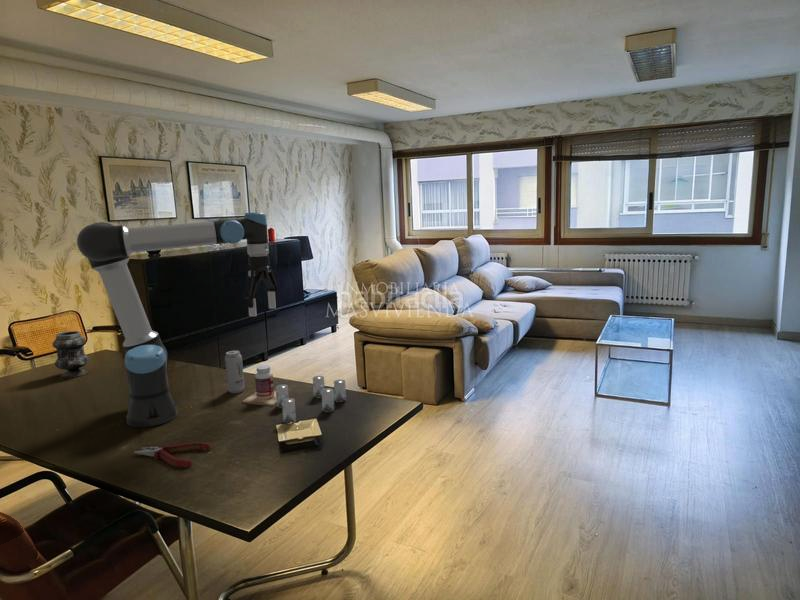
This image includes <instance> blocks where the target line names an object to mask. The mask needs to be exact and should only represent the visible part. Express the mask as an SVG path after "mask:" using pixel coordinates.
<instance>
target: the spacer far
mask: <svg viewBox="0 0 800 600" xmlns="http://www.w3.org/2000/svg"><path fill="white" fill-rule="evenodd" d="M312 389H313V391H312V392H313V398H314V397H322V394H321V390H323V389H326V388H325V376H323V375H314V376H313V377H312Z"/></svg>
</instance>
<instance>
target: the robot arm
mask: <svg viewBox="0 0 800 600" xmlns="http://www.w3.org/2000/svg"><path fill="white" fill-rule="evenodd" d="M243 240H246V247H247V248H246V249H247V252H246V253H247V255H248V258H247V260H248V261H247V262H248V266H249V267H250V268H251V270H246V277H245V284H244V289H243V295H242V297H243V298H244V299H245V300H246V299H247V307H248V316H249V317H258V314H257V301H256V298H255V296H256V292H257V290H258V286H259V284H260V283H261V282H263V284H264V285H265V286H266V287H265V288H266V289H267V290H268V291H267V299H268V309H271V310H273V309H277V305H276V304H277V302H276V292H278V291H279V289H278V288H279V286H278V285H279V284H278V283H277V280H276V277H275V273H274V269H273V266H272V265H271V266H270V264H271V262H270V255H269V254H270V250H269V248H270V246H269V236H268V224H267V215H266V213H264V212H260V211H259V212H257V211H256V212H245V213H244V217H242V218H222V219H221V218H219V219H211V220H210V221H202V222H189V223H177V224H175V223H174V224H164V225H152V226H139V227H128V226H125V225H124V224H123V225H122V224H121V225H114V224H111V223H110V222H104V221H103V222H101V221H100V222H95V223H91V224H89V225H86V226H84V227H83V228H82V229H81V230H80V232H79V233H78V235H77V238H76V245H77V248H78V250H79V252H80V254H82V255H83V256H84V257H85V258H86V259H87V260H88V263H89V264H90V267H91V269H92V270H94V271H96V272H98V273H99V276H100V279H101V281H102V284H103V286H104V289H105V291H106V294H107V295H108V299H109V301H110V303H111V307H112V308H113V311H114V314H115V317H116V318H117V321H118V325H119V326H120V328H121V331H122V334H123V336H124V341H123V343H122V347H123V349H124V351H125V356H124V366H125V370H126V377H127V385H128V392H129V402H128V408H127V413H126V415H125V417H126V424H127V425H128V426H130V427H134V428H149V427H154V426H160V425H162V424H166V423H168V422H170V421H172V420H173V419H175V418H176V417H177V416H178V407H177V405H176V404H175V402H174V400H173V396H172V395H171V393H170V387H169V378H168V370H167V363H168V351H167V349H166V347H165V345H164V344H163V342H162V339H161V337H160V334H159V333H158V331H154V330H152V327H151V325H150V321H149V318H148V316H147V314H146V312H145V309H144V306H143V304H142V301H141V298H140V295H139V291H138V290H137V287H136V285H135V282H134V279H133V277H132V274H131V272H130V269H129V267H128V263H129V261H130V256H131V255H132V254H133V253H139V252H140V253H141V252H151V251H153V252H154V251H161V250H171V249H179V248H180V249H182V248H191V247H201V246H203V247H204V246H211V245H212V246H213V245H223V244H224V245H225V244H229V245H231V244H232V245H233V244H238V243H239V242H241V241H243Z"/></svg>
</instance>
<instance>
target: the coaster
mask: <svg viewBox="0 0 800 600" xmlns="http://www.w3.org/2000/svg"><path fill="white" fill-rule="evenodd" d="M289 394H290V391H288V395H289ZM241 404H246V405H247V404H248V405H259V406H268V407H274V405H277V398H276V390H274V396H273V397H271V398H268V399H259V398H257V395H256V392H254V393H252V394H251V395H250V396H248V397H246V398H245V399H243V400H242V401H241Z"/></svg>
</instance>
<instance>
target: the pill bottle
mask: <svg viewBox="0 0 800 600" xmlns="http://www.w3.org/2000/svg"><path fill="white" fill-rule="evenodd" d="M254 379H255V393H256V395H257V398H259V399H268V398H271V397H273V396H274V391H275V388H274V387H275V386H274V374H273V372H272V371H271V366H270V365H268V364H262V365H257V367H256V373H255V374H254Z"/></svg>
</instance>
